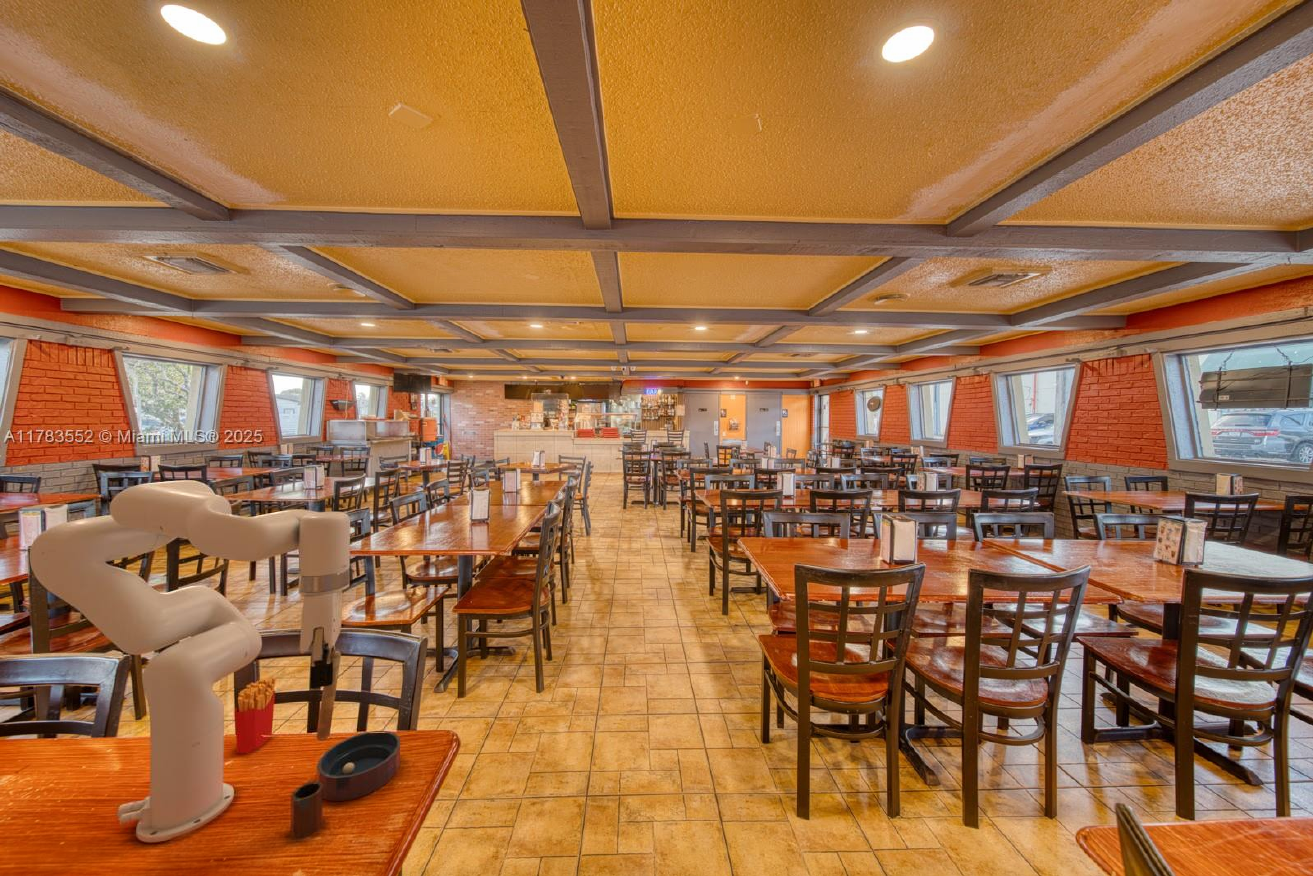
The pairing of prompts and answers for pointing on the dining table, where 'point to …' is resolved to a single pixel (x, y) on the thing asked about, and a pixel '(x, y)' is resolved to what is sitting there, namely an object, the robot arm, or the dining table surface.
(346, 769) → the dough ball
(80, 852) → the dining table surface
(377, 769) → the bowl
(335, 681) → the stick
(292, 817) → the holder
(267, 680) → the french fries
